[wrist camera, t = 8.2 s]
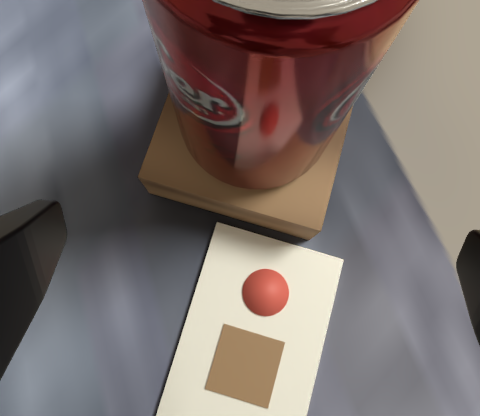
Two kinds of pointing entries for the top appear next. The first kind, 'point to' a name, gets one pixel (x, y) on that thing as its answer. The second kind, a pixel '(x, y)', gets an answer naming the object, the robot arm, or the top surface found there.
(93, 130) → the top surface
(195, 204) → the base brick
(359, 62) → the soda can
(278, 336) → the page
